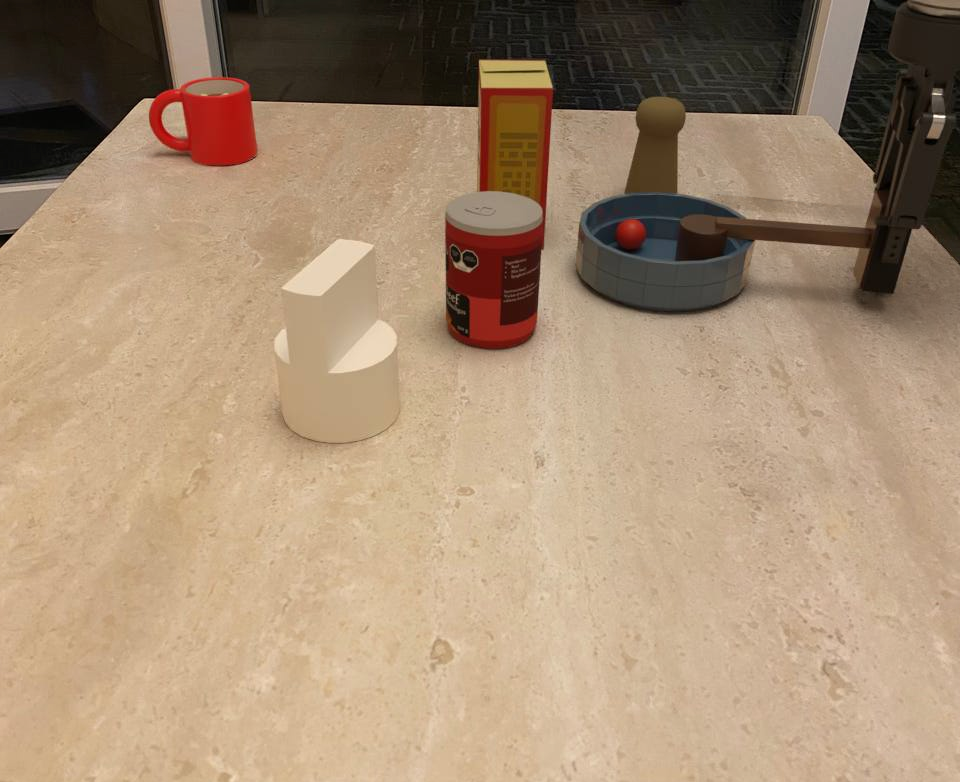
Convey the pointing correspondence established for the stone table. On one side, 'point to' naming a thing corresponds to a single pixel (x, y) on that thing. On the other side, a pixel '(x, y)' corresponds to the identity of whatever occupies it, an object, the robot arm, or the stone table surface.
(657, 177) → the cork
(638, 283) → the bowl
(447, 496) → the stone table surface
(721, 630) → the stone table surface
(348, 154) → the stone table surface
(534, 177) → the baking soda box
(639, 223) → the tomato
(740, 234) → the wooden mallet
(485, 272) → the canned food
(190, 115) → the mug
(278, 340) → the base with upright slab
